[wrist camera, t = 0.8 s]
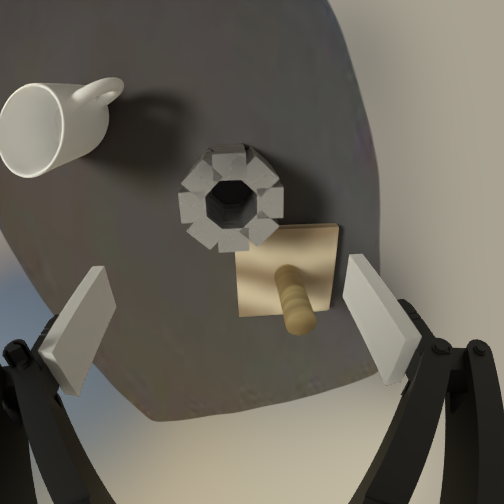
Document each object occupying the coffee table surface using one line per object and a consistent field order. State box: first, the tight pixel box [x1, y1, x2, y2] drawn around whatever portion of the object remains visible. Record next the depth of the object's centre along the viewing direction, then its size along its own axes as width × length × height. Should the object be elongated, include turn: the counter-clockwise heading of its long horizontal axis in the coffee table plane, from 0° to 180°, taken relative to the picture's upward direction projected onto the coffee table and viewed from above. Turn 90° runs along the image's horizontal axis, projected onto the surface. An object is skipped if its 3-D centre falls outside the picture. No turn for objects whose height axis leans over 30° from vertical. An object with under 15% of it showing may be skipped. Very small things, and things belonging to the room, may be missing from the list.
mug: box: [0, 77, 124, 178], centre depth 22 cm, size 12×8×10 cm
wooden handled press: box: [235, 223, 339, 335], centre depth 33 cm, size 12×12×10 cm
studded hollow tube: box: [178, 143, 284, 253], centre depth 29 cm, size 9×9×7 cm
